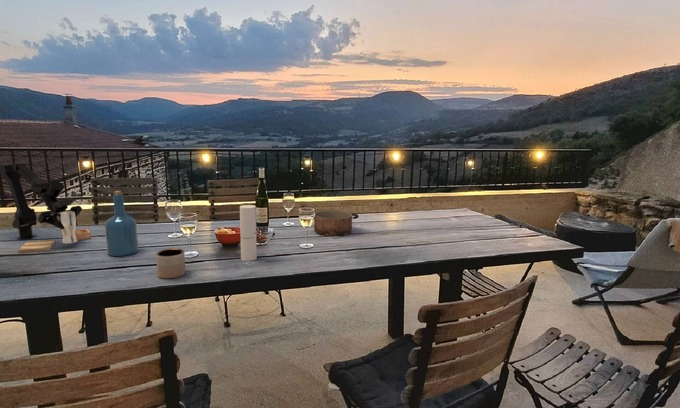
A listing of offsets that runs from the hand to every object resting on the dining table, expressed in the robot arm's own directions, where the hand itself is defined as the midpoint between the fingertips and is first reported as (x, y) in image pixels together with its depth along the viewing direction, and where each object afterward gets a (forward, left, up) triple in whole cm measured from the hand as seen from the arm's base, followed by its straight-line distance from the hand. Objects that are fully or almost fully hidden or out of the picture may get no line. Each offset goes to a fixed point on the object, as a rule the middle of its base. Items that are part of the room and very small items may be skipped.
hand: (70, 227), depth 193 cm
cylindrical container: (+50, +76, -10) cm, 92 cm away
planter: (+57, +42, -10) cm, 72 cm away
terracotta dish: (-16, +1, -10) cm, 19 cm away
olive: (-16, +1, -8) cm, 18 cm away
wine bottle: (+19, +23, -10) cm, 32 cm away
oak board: (-5, -15, -10) cm, 19 cm away
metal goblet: (-1, -1, -8) cm, 8 cm away
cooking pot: (+22, +133, -10) cm, 135 cm away
